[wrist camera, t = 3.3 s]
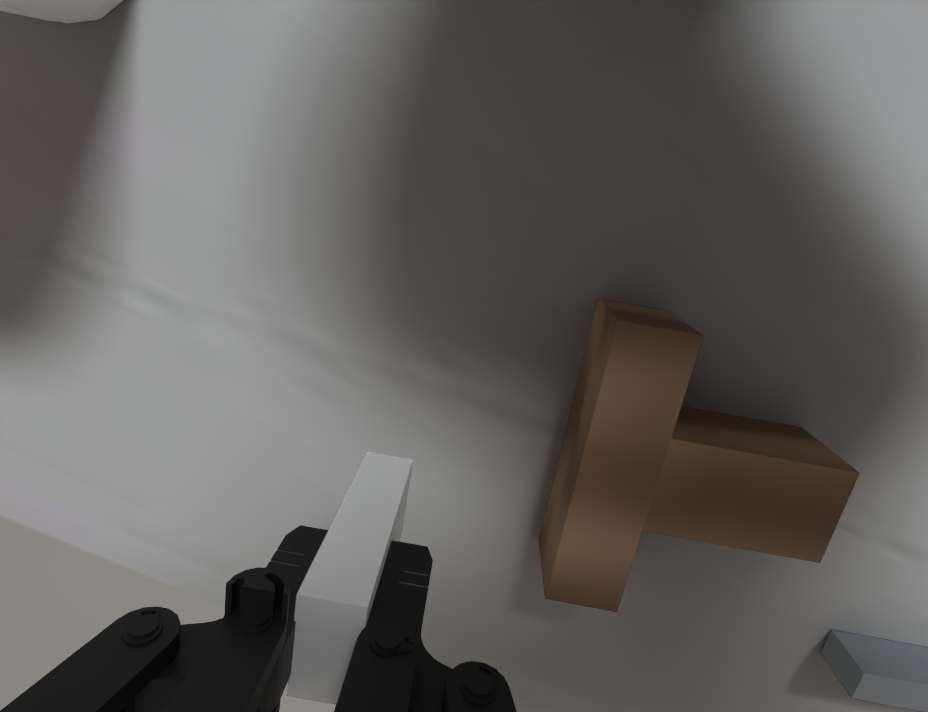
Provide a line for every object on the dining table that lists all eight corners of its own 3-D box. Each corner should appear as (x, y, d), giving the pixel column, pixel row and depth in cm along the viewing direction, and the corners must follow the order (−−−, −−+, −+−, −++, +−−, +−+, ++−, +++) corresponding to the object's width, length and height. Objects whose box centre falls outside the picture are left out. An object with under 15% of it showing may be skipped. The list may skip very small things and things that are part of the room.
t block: (598, 298, 23) (618, 320, 19) (835, 340, 22) (903, 371, 19) (538, 539, 26) (545, 598, 22) (742, 576, 26) (784, 643, 22)
